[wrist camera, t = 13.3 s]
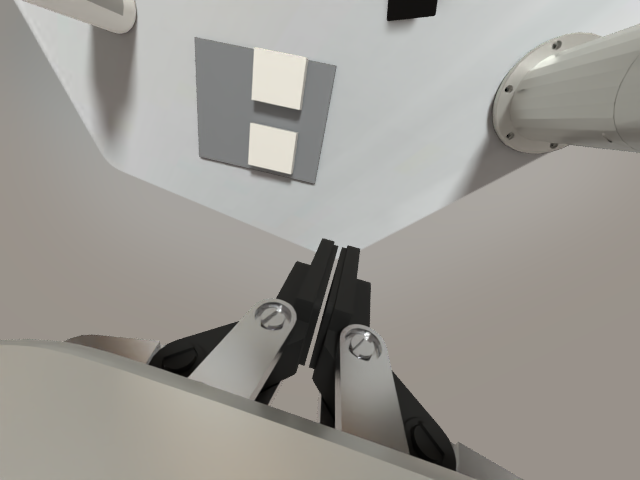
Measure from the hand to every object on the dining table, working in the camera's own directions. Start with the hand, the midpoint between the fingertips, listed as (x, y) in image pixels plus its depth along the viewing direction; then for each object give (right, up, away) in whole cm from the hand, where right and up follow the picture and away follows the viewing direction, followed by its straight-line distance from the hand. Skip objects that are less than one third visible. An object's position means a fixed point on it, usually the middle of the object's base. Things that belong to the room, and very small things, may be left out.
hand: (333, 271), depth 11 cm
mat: (-10, +20, +26) cm, 34 cm away
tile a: (-3, +22, +22) cm, 32 cm away
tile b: (-4, +15, +26) cm, 31 cm away
